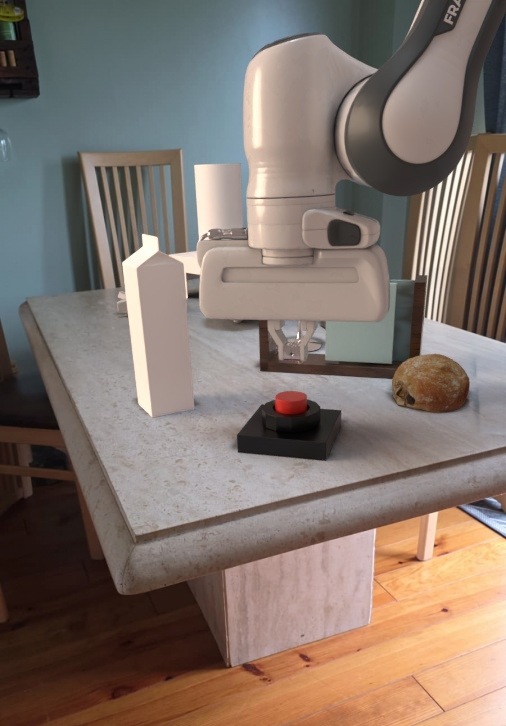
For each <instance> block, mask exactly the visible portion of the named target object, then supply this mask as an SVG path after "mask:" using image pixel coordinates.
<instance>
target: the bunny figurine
mask: <svg viewBox="0 0 506 726" xmlns="http://www.w3.org/2000/svg"><path fill="white" fill-rule="evenodd" d="M117 298H118V299H120V300H118V301H116V307H117V312H118V313H120V314H121V313H122V314H128V309H127V301H126V292H125V290H120V291H118V294H117Z"/></svg>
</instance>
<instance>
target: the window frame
mask: <svg viewBox="0 0 506 726" xmlns="http://www.w3.org/2000/svg"><path fill="white" fill-rule="evenodd" d="M389 281H390V283H397V297H396V313H395V329H394V345H393V361H392V364H385V363H366V362H347V361H327V360H325V353H309V352H308V358H307V360H306V361H285V360H284V361H282V360H279V347H278V345H277V344H276V342H275V341H274V339H273V337H272V336H271V334H270V333H269V331H268V320H258V342H259V343H258V349H259V371H260V372H270V373H271V372H274V373H290V374H307V375H325V376H339V377H341V376H342V377H343V376H344V377H356V378H357V377H358V378H375V379H392V380H393V377H394V374H395V372H396V370H397V369H398V367H399V366H400V365H401V364H402V363H403V362H405V361H406V360H408V359H410V358H413V357H416V356H420V355H422V350H423V349H422V347H423V338H424V337H423V335H424V325H425V313H426V311H425V310H426V298H427V286H428V275H427V274H423V275H422V274H416V276H415V279H389Z"/></svg>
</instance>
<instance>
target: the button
mask: <svg viewBox="0 0 506 726" xmlns="http://www.w3.org/2000/svg"><path fill="white" fill-rule="evenodd" d="M307 399H308V395H307V394H306V393H305V392H301V391H298V390H297V391H296V390H295V391H294V390H286V391H282V392H281V391H280V392H279V393H276V394H275V396H274V400H275V411H276V412H279V413H282V414H298V413H303V412H305V411H307Z"/></svg>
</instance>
